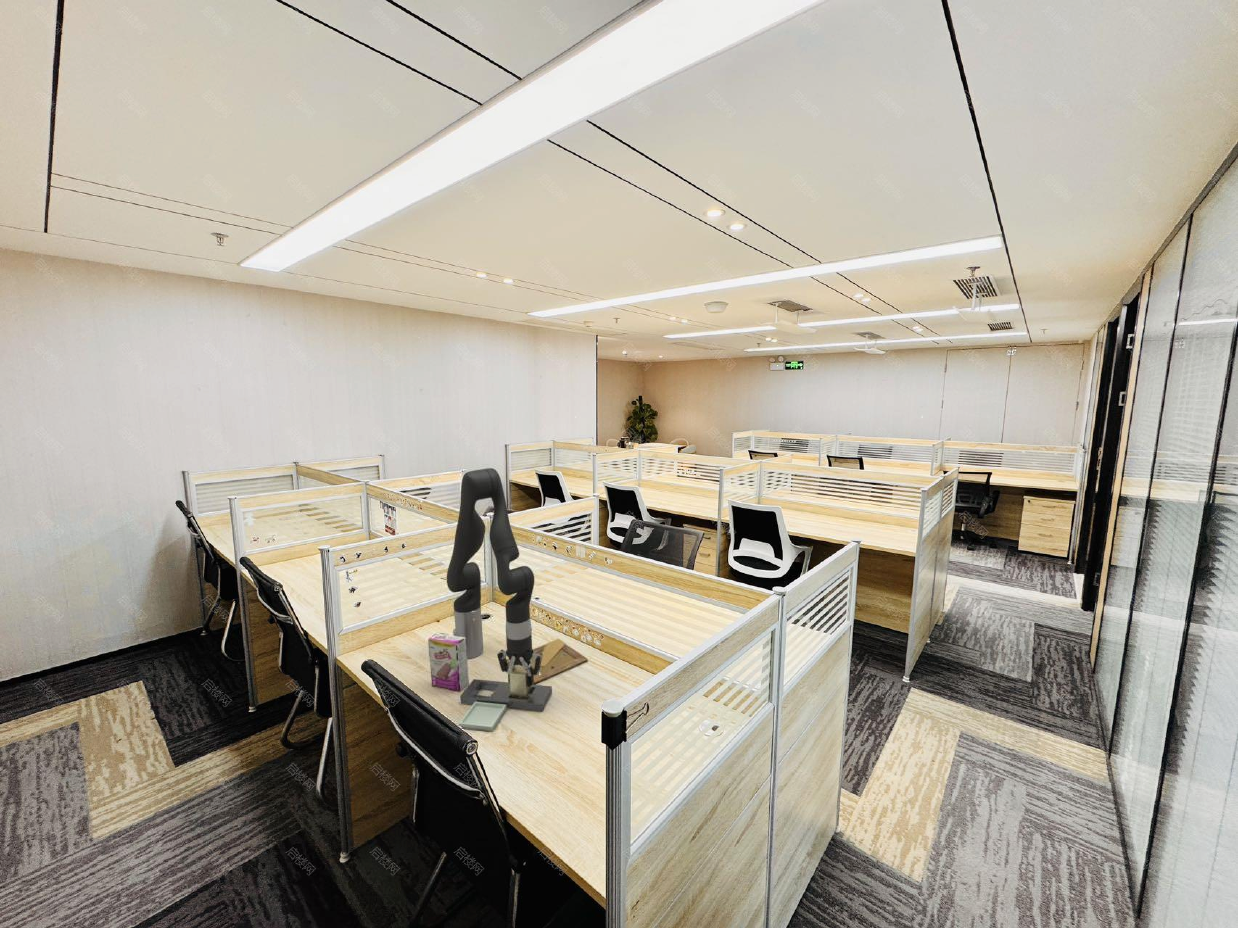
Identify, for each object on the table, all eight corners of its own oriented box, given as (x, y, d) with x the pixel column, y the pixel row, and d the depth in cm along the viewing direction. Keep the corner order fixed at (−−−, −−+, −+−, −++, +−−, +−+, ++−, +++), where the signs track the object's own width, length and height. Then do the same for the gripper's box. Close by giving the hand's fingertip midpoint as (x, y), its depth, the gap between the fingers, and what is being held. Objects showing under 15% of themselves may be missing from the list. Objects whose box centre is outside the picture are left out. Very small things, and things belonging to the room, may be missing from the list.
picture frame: (558, 642, 190) (500, 665, 175) (558, 638, 190) (500, 661, 175) (588, 663, 176) (527, 689, 161) (587, 658, 175) (527, 684, 161)
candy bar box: (430, 686, 163) (426, 638, 160) (441, 677, 167) (437, 631, 165) (460, 692, 159) (456, 643, 157) (469, 683, 164) (466, 636, 161)
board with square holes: (460, 703, 153) (460, 695, 153) (474, 686, 162) (473, 679, 162) (542, 711, 149) (542, 703, 148) (552, 693, 158) (551, 686, 157)
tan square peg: (510, 697, 153) (509, 673, 151) (517, 687, 157) (515, 663, 156) (526, 699, 152) (525, 674, 150) (532, 689, 157) (531, 665, 155)
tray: (459, 728, 142) (458, 723, 142) (475, 706, 152) (474, 701, 152) (492, 731, 141) (492, 726, 140) (506, 709, 150) (506, 704, 150)
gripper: (490, 636, 149) (494, 689, 152) (537, 640, 146) (539, 694, 149) (501, 624, 156) (504, 675, 159) (545, 628, 154) (547, 679, 156)
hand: (521, 684), depth 154 cm, fingers closed on tan square peg, 5 cm apart
